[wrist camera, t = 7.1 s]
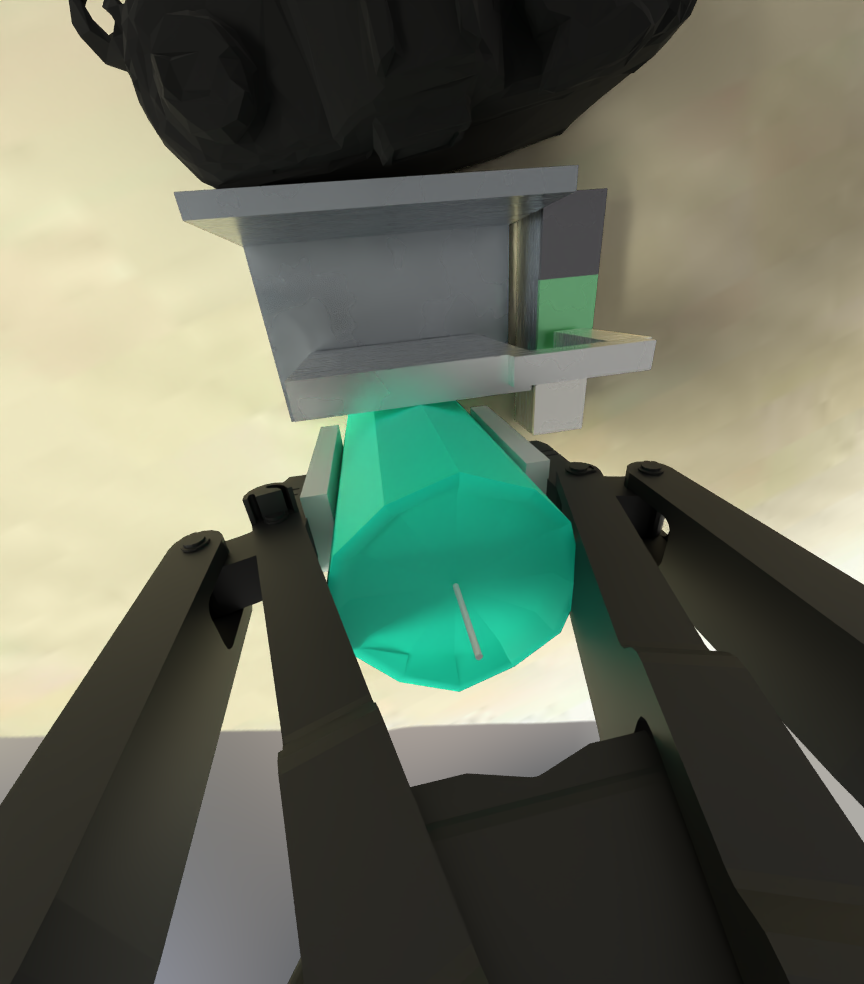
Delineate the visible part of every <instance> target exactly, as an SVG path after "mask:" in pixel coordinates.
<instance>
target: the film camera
mask: <svg viewBox="0 0 864 984" xmlns="http://www.w3.org/2000/svg"><path fill="white" fill-rule="evenodd" d="M86 1H87V0H69V5H70V12H71V20H72V24H73V26H74V27H75V29H76V31H77V32H78V34H79V35H80V37H81V38H82V39H83V40H84V41H85V42H86V43H87V44H88V45H89V47H90V48H91V49H92V50H93V51H94V52H95V53H96V54H97V55H98V56H99V57H100V58H101V60H102V61H103V62H104V63H105V64H107V65H110V66H113V67H115V68H118V69H121V70H124V71H127V72H128V73H129V75H130V77H131V79H132V82H133V85H134V88H135V91H136V94H137V97H138V100H139V103H140V105H141V106H142V108H143V110H144V112H145V114H146V116H147V118H148V120H149V121H150V123H151V124H152V126H153V127H154V129H155V130H156V132H157V134H158V135H159V137H160V138H161V140H162V141H163V143H164V145H165V146H166V147H167V148H168V149H169V150H170V151H171V152H172V153H173V154H174V155H175V156H176V157H177V158H178V159H179V160H180V161H181V162H182V163H183V164H184V165H185V166H186V167H187V168H188V169H189V170H190V171H191V172H192V173H193V174H194V175H195V176H196V177H197V178H198V179H199V180H200V181H201V182H203V183H206V184H208V185H210V186H212V187H214V188H216V189H228V188H243V187H258V186H272V185H287V184H302V183H317V182H332V181H347V180H362V179H377V178H392V177H406V176H421V175H436V174H442V173H447V172H450V171H454V170H457V169H460V168H463V167H467V166H470V165H474V164H477V163H481V162H484V161H488V160H491V159H494V158H497V157H500V156H503V155H505V154H507V153H510V152H512V151H515V150H517V149H520V148H523V147H525V146H528V145H531V144H533V143H536V142H539V141H541V140H544V139H547V138H549V137H553V136H557V135H560V134H562V133H563V132H564V131H565V130H566V128H567V127H568V126H569V125H570V124H571V123H572V122H573V121H574V120H575V119H576V118H578V117H579V116H580V115H581V114H582V113H583V112H585V111H586V110H587V109H588V108H589V107H590V106H592V105H593V104H594V103H595V102H596V101H597V100H599V99H600V98H601V97H602V96H604V95H605V94H606V93H607V92H608V91H610V90H611V89H612V88H613V87H615V86H616V85H617V84H618V83H620V82H621V81H622V80H623V79H624V78H626V77H627V76H628V75H629V74H631V73H634V72H635V71H636V70H638V69H639V68H640V67H641V66H643V65H644V64H645V63H646V62H647V61H649V60H650V59H651V58H652V57H653V56H654V55H655V54H656V53H657V52H658V51H659V50H660V49H661V48H662V47H663V46H664V45H665V43H666V42H667V41H668V40H669V39H670V38H671V37H672V35H673V34H674V33H675V32H676V31H677V29H678V28H679V27H680V26H681V25H682V24H683V23H684V22H685V20H686V19H687V18H688V17H689V16H690V15H691V13H692V11H693V8H694V6H695V4H696V2H697V0H125V3H124V4H122V3H121V2H120V1H119V0H104V2H103V6H102V7H103V8H104V9H105V10H106V11H108V12H109V13H110V14H111V15H112V17H113V19H114V20H115V25H114V32H113V33H111V34H110V35H108V34H107V33H106V32H105V31H104V30H103V29H102V28H101V27H100V26H99V25H98V24H97V23H96V22H95V21H94V20H93V19H92V17H91V16H90V14H89V12H88V11H87V9H86V7H85V5H86Z"/></svg>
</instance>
